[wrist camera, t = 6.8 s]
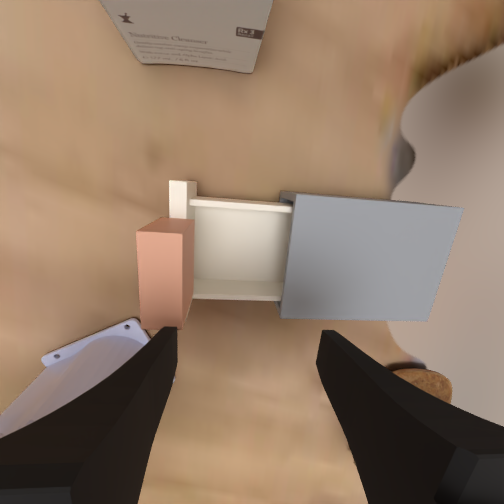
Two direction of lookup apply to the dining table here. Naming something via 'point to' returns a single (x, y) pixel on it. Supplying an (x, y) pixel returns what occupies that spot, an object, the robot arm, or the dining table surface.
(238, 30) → the skincare box
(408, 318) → the carton
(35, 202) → the dining table surface
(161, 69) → the dining table surface
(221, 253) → the white pull-out drawer
